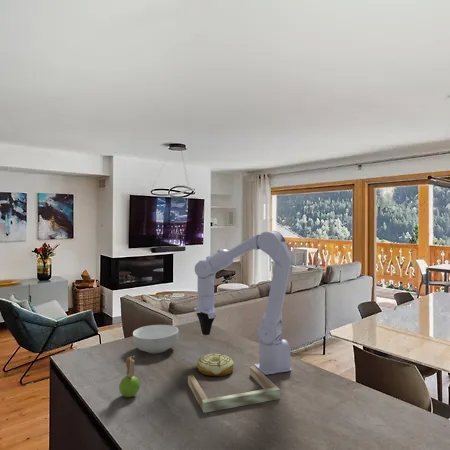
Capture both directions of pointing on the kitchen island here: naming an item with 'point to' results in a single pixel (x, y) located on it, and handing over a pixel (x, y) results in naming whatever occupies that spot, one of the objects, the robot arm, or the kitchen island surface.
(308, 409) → the kitchen island surface
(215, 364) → the decorated donut
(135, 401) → the kitchen island surface
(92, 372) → the kitchen island surface
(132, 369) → the snail figurine
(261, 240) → the robot arm
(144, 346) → the cereal bowl
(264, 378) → the wooden bar frame
